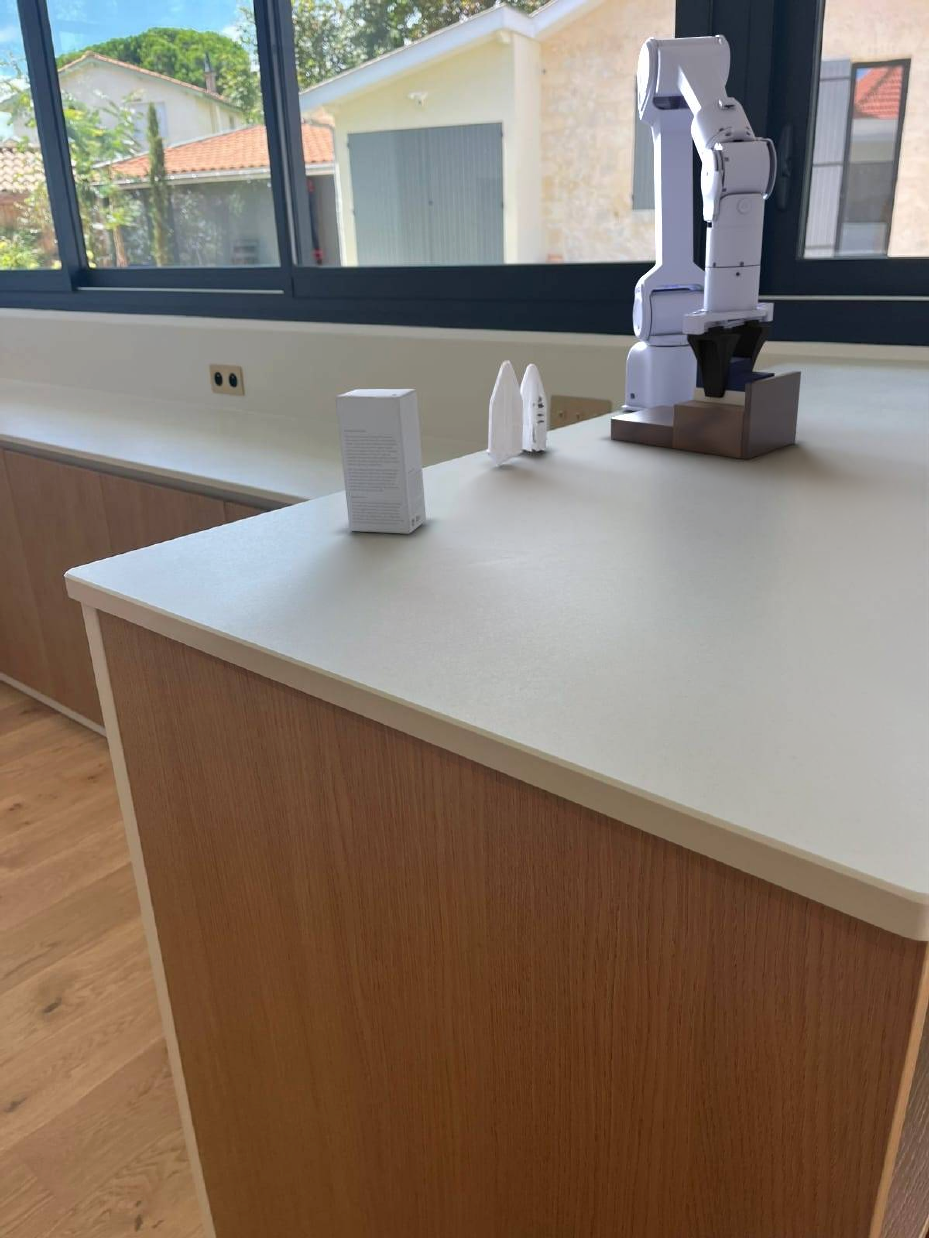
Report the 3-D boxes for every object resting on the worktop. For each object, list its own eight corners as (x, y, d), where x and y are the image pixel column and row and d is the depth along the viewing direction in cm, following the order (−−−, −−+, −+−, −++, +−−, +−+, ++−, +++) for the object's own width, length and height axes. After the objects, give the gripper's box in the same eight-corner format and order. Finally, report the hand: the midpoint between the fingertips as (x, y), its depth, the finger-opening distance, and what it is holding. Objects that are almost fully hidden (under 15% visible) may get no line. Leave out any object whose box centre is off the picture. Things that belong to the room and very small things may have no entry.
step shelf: (610, 438, 115) (611, 371, 112) (660, 425, 121) (662, 360, 118) (747, 459, 102) (752, 384, 99) (795, 443, 108) (801, 371, 105)
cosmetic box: (427, 521, 86) (418, 388, 82) (409, 535, 83) (399, 396, 78) (367, 518, 88) (354, 388, 84) (347, 531, 85) (333, 396, 80)
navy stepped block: (692, 400, 108) (694, 360, 106) (712, 395, 111) (714, 355, 109) (754, 407, 103) (757, 364, 101) (774, 401, 105) (777, 360, 103)
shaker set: (512, 472, 102) (509, 367, 98) (477, 469, 104) (473, 366, 99) (555, 448, 112) (554, 351, 107) (522, 446, 113) (520, 351, 109)
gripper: (726, 270, 95) (719, 407, 100) (801, 261, 103) (791, 387, 109) (668, 270, 99) (664, 401, 105) (744, 262, 108) (737, 382, 114)
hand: (725, 394), depth 107 cm, fingers closed on navy stepped block, 4 cm apart
